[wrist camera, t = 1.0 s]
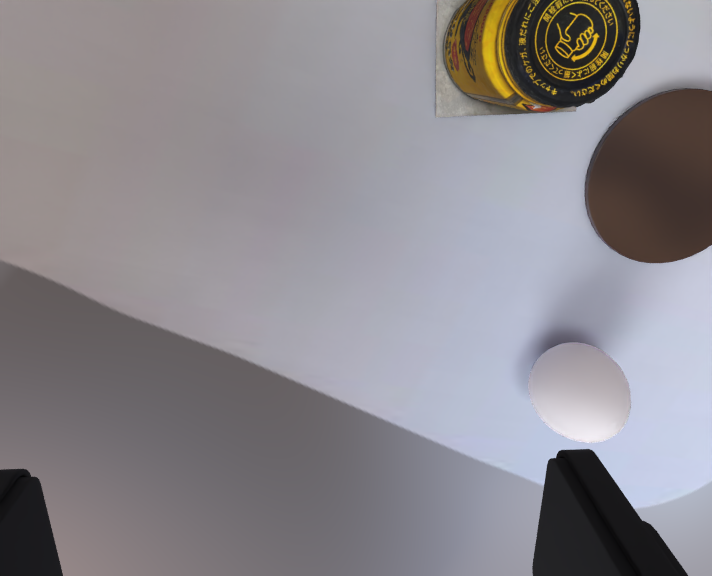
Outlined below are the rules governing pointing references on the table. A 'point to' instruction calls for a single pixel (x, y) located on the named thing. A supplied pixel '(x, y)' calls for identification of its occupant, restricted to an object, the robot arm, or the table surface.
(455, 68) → the condiment
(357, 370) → the table surface
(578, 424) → the egg
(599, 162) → the coaster
